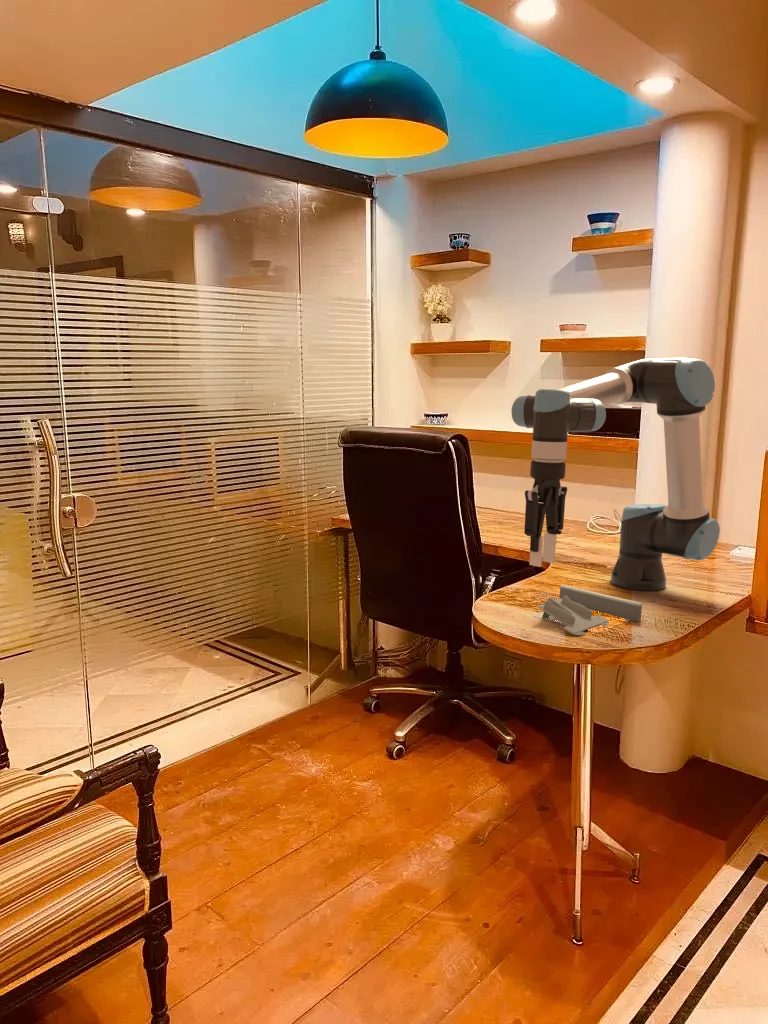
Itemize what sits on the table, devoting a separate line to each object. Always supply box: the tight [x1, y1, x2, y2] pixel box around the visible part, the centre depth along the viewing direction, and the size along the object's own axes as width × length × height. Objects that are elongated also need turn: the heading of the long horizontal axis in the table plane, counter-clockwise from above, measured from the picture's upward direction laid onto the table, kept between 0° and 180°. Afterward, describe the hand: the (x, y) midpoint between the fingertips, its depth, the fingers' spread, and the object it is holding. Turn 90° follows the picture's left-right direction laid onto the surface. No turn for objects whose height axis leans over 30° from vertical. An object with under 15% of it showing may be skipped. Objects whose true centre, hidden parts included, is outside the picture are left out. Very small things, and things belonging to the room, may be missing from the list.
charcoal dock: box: [532, 584, 644, 625], centre depth 192 cm, size 17×22×5 cm
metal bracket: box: [536, 595, 609, 636], centre depth 187 cm, size 14×6×15 cm
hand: (542, 563), depth 175 cm, fingers open, 4 cm apart
